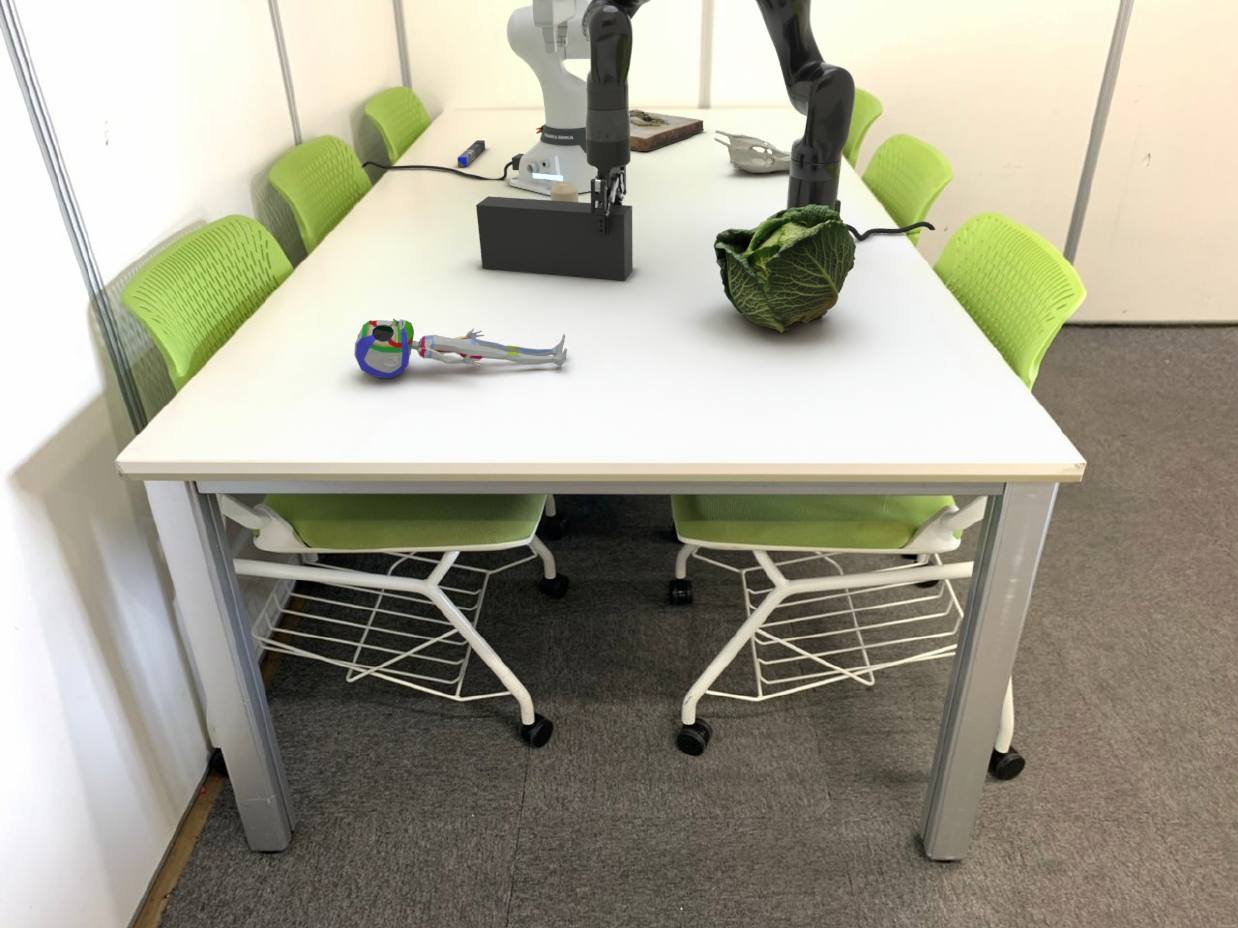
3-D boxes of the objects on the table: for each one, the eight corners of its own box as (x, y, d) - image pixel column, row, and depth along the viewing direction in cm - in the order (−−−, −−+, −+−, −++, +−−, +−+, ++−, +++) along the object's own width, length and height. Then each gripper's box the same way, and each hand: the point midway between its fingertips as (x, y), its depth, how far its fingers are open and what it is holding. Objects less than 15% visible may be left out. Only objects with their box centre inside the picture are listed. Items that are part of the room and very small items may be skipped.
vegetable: (744, 347, 153) (688, 245, 145) (835, 284, 154) (785, 179, 146) (797, 369, 135) (736, 254, 127) (900, 297, 136) (846, 179, 128)
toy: (569, 347, 126) (349, 329, 122) (563, 400, 131) (350, 385, 126) (565, 318, 135) (359, 301, 130) (559, 369, 139) (360, 354, 134)
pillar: (484, 140, 247) (465, 158, 230) (485, 148, 248) (466, 167, 231) (476, 140, 247) (457, 158, 230) (477, 148, 248) (457, 166, 231)
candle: (583, 228, 187) (581, 180, 181) (573, 236, 182) (571, 187, 177) (558, 226, 188) (556, 178, 183) (548, 234, 184) (545, 185, 178)
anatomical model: (716, 127, 227) (816, 125, 224) (715, 164, 232) (813, 163, 229) (712, 140, 215) (818, 139, 211) (712, 179, 220) (815, 179, 216)
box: (482, 268, 168) (475, 205, 161) (493, 258, 172) (488, 196, 166) (624, 280, 161) (623, 215, 155) (632, 270, 166) (632, 205, 160)
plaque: (647, 125, 237) (559, 112, 252) (647, 153, 241) (560, 139, 256) (706, 107, 258) (622, 97, 273) (705, 133, 262) (622, 121, 277)
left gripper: (557, -32, 152) (561, 57, 159) (581, -37, 169) (583, 43, 177) (521, -32, 153) (526, 56, 160) (548, -37, 170) (552, 43, 177)
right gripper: (618, 145, 145) (619, 243, 153) (640, 127, 156) (639, 219, 165) (574, 143, 146) (577, 240, 155) (598, 125, 158) (600, 216, 167)
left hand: (556, 49), depth 169 cm, fingers open, 8 cm apart
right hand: (609, 229), depth 160 cm, fingers open, 8 cm apart
